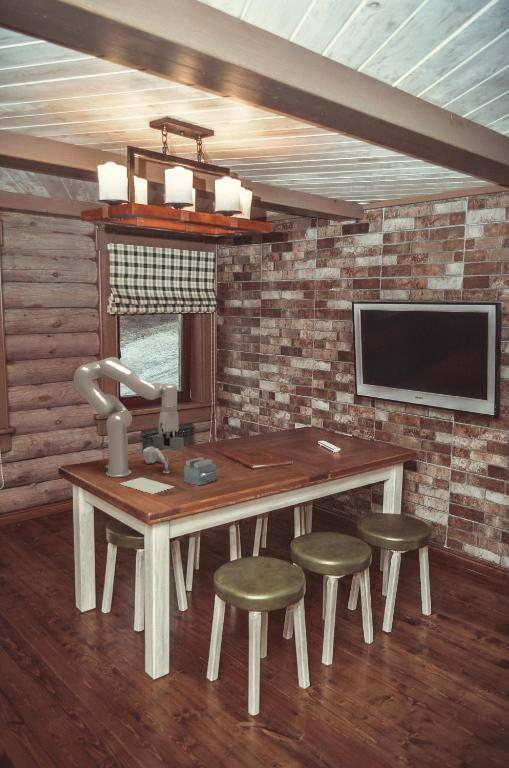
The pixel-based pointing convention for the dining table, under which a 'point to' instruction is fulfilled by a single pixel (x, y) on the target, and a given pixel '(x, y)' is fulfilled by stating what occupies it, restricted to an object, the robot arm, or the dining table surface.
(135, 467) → the dining table surface
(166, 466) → the grey metal pieces
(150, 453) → the wall hook
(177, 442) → the crook
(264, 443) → the dining table surface
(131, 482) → the mat
